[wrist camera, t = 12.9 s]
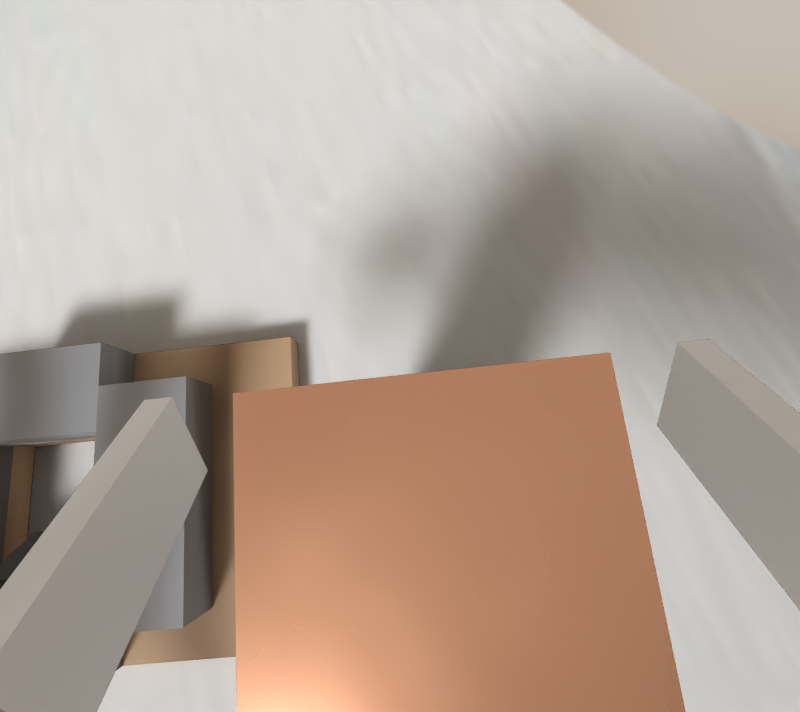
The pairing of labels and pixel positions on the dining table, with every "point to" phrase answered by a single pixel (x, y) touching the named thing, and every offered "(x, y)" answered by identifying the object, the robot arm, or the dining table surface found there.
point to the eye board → (227, 381)
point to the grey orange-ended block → (446, 546)
